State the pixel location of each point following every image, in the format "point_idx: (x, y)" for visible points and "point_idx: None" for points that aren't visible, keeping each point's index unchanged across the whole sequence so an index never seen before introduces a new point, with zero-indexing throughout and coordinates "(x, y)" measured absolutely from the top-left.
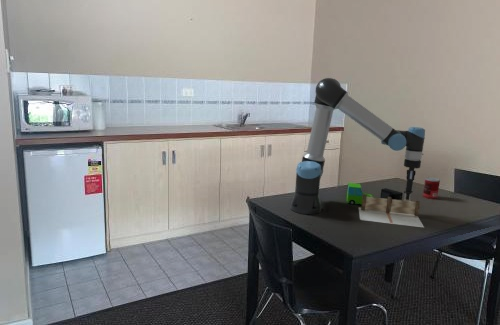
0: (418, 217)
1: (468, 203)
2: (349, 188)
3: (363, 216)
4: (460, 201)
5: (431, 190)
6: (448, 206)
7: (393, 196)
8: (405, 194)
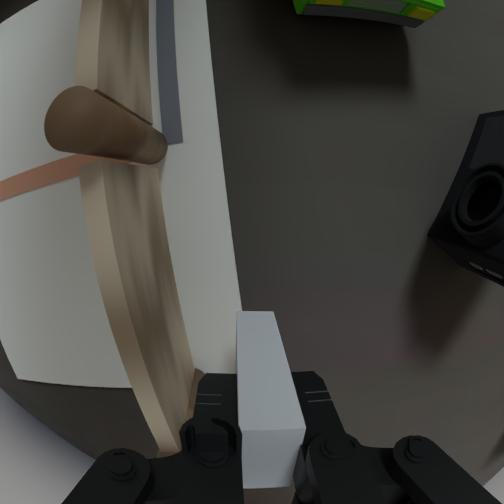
0: None
1: (475, 474)
2: None
3: (16, 27)
4: (493, 455)
5: None
6: (452, 455)
7: (495, 207)
8: (239, 411)
